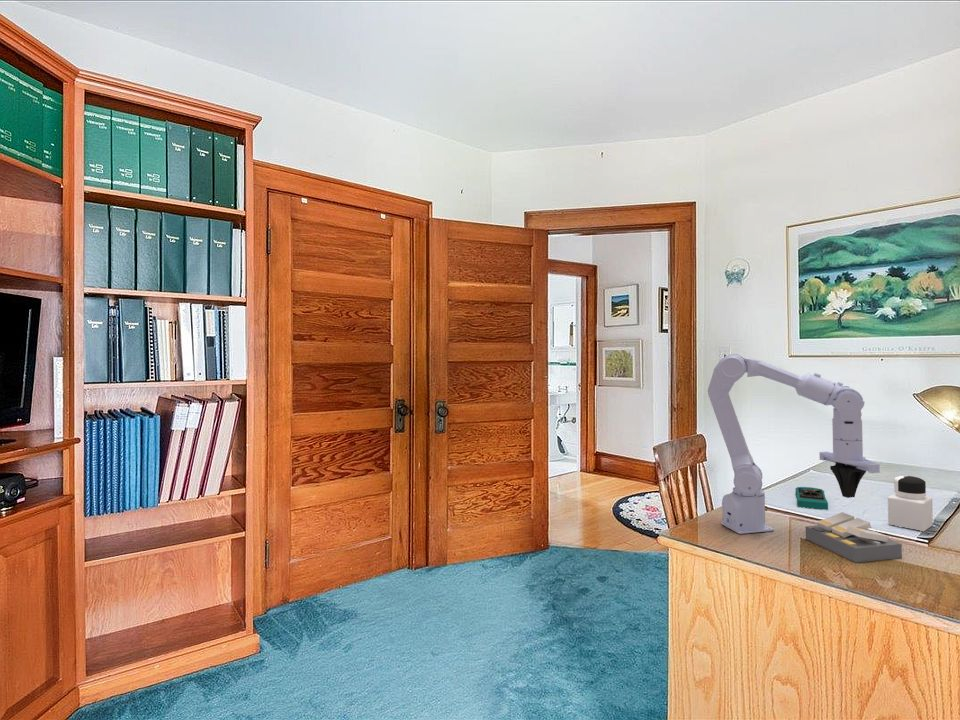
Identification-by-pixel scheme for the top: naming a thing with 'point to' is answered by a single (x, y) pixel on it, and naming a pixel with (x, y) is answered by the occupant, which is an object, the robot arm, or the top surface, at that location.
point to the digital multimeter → (811, 498)
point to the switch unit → (854, 545)
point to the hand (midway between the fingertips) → (848, 496)
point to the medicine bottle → (910, 504)
